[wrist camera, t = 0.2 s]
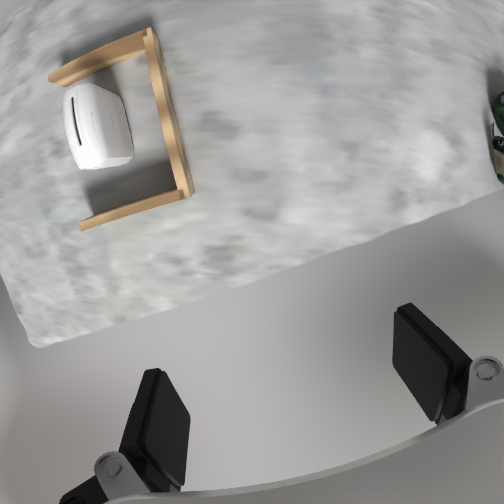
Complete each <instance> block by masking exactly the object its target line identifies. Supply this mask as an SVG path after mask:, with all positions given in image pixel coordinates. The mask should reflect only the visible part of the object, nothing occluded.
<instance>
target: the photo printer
mask: <svg viewBox="0 0 504 504" xmlns="http://www.w3.org/2000/svg"><path fill="white" fill-rule="evenodd" d="M63 112H64V124H65V130H66V133H67V138H68V142H69V145H70V149H71V151H72V154H73V157H74V159H75V161H76V163H77V165H78V167H79V168H80V169H81V170H84V169H91V170H92V169H100V168H107V167H114V166H121V165H125V164H127V163H128V162H129V161H130V160H131V159H132V158H133V157H134V149H133V144H132V139H131V135H130V130H129V126H128V122H127V118H126V114H125V110H124V106H123V103H122V101H121V99H120V97H119V96H118V95H116V94H114V93H112V92H109V91H107V90H105V89H103V88H101V87H99V86H97V85H94V84H92V83H84V84H79V85H76V86H75V87H73V88H71V89H68V90H67V91H66V93H65V96H64V103H63Z"/></svg>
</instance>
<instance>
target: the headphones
mask: <svg viewBox="0 0 504 504" xmlns="http://www.w3.org/2000/svg"><path fill="white" fill-rule="evenodd" d="M493 110H494V112H495V113H494V117H495V119H496V121H497V124H498V127H499V129H500V131H501V133H502V135H503V136H504V92H502V93H501V94H500V95H499V96H498V97H497V99H496V100H495V102H494V104H493ZM494 123H495V122H494ZM494 123H493V129H492V135H493V139H492V143H493V153H494V165H495V170H496V172H497V177H498V179H499V181H500V182H501V183H502V184H504V138H503V137H500V136H495V137H494Z"/></svg>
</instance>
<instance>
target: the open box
mask: <svg viewBox="0 0 504 504" xmlns="http://www.w3.org/2000/svg"><path fill="white" fill-rule="evenodd" d="M144 52H146V56H147V61H148V66H149V71H150V76H151V81H152V86H153V90H154V95H155V99H156V104H157V108H158V113H159V117H160V121H161V126H162V130H163V134H164V138H165V142H166V146H167V150H168V154H169V158H170V162H171V166H172V170H173V174H174V177H175V181H176V185H177V189H173V190H170V191H166V192H163V193H160V194H156V195H153V196H150V197H147V198H144V199H140V200H137V201H134V202H131V203H128V204H125V205H122V206H119V207H116V208H113V209H110V210H107V211H105V212H102V213H99V214H96V215H93V216H91V217H89V218H87V219H85V220H83V221H81V222H79V226H80V230H81V231H84V230H87V229H89V228H92V227H95V226H98V225H101V224H104V223H107V222H110V221H113V220H116V219H119V218H122V217H125V216H128V215H132V214H135V213H138V212H141V211H144V210H148V209H151V208H154V207H158V206H161V205H164V204H168V203H171V202H175V201H178V200H182V199H185V198H189V197H191V196H192V195H193V194H194V193H195V190H194V186H193V182H192V178H191V175H190V171H189V167H188V163H187V159H186V155H185V151H184V147H183V143H182V139H181V135H180V131H179V127H178V123H177V119H176V114H175V110H174V106H173V101H172V97H171V93H170V88H169V84H168V79H167V75H166V70H165V66H164V61H163V56H162V51H161V47H160V42H159V39H158V38H157V36H156V35H155V33H154V31H153V30H152V28H151V27H150V28H147V29H144V30H141V31H138V32H136V33H133V34H130V35H128V36H125V37H123V38H120V39H118V40H115V41H113V42H111V43H108V44H106V45H104V46H102V47H99V48H97V49H95V50H93V51H91V52H89V53H87V54H85V55H83V56H81V57H79V58H77V59H75V60H73V61H71V62H69V63H67V64H66V65H64V66H62V67H60V68H59V69H57V70H55V71H53V72H52V73H50V74H48V79H49V82H52V83H54V84H57V85H60V86H63V87H68V86H69V85H71V84H73V83H75V82H77V81H79V80H81V79H83V78H85V77H87V76H89V75H91V74H93V73H96V72H98V71H100V70H102V69H104V68H107V67H109V66H111V65H114V64H116V63H118V62H121V61H123V60H126V59H128V58H131V57H134V56H136V55H139V54H142V53H144Z"/></svg>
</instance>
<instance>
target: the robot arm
mask: <svg viewBox="0 0 504 504" xmlns="http://www.w3.org/2000/svg"><path fill="white" fill-rule="evenodd" d="M392 362H393V366H394V368H395V370H396V371H397V373H398V374H399V376H400V377H401V378H402V380H403V381H404V383H405V384H406V386H407V387H408V389H409V390H410V392H411V393H412V394H413V396H414V397H415V399H416V400H417V402H418V403H419V405H420V406H421V408H422V409H423V411H424V412H425V414H426V415H427V417H428V418H429V420H430V421H435V423H436V424H437V426H436V427H434V428H432V429H430V430H428V431H426V432H424V433H422V434H420V435H417V436H415V437H413V438H411V439H409V440H407V441H404V442H402V443H400V444H398V445H395V446H393V447H390V448H388V449H385V450H383V451H381V452H378V453H375V454H373V455H370V456H368V457H364V458H362V459H359V460H356V461H353V462H350V463H347V464H344V465H341V466H337V467H334V468H331V469H327V470H324V471H320V472H316V473H312V474H309V475H305V476H300V477H296V478H291V479H286V480H282V481H277V482H271V483H265V484H259V485H253V486H246V487H238V488H230V489H220V490H207V491H190V492H180V489H181V486H183V485H184V483H185V471H186V460H187V449H188V440H189V439H188V438H189V429H190V415H189V412H188V411H187V409H186V407H185V406H184V404H183V402H182V400H181V399H180V397H179V395H178V393H177V392H176V390H175V388H174V386H173V385H172V383H171V381H170V379H169V377H168V376H167V374H166V372H165V371H161V369H159V368H155V369H149V370H146V371H145V372H144V374H143V377H142V380H141V384H140V386H139V390H138V393H137V396H136V399H135V402H134V403H133V405H132V408H131V411H130V414H129V418H128V421H127V424H126V427H125V430H124V434H123V437H122V441H121V444H120V447H119V451H118V452H115V451H112V452H107V453H105V454H103V455H102V456H100V457H99V458H98V460H97V461H96V463H95V465H94V472H95V476H93V477H92V478H90V479H88V480H87V481H85V482H84V483H82V484H81V485H79V486H78V487H76V488H74V489H73V490H71V491H69V492H68V493H66V494H65V495H64V496H63V497H62V498H61V500H60V503H59V504H504V368H503V365H502V363H501V362H500V361H499V360H498V359H497V358H494V357H492V356H481V357H478V358H476V359H475V360H474V361H473V360H471V358H469V357H468V355H467V354H466V353H465V352H464V351H463V350H462V349H461V348H459V346H458V345H457V344H456V343H454V342H453V341H452V340H451V339H450V338H449V337H448V336H447V335H446V334H445V333H444V332H443V331H442V330H441V329H440V328H439V327H437V326H436V325H435V324H434V323H433V322H432V321H431V320H429V318H428V317H426V316H425V315H424V314H423V313H422V312H421V311H420V310H419V309H418V308H417V307H416V306H414V305H413V304H412V303H407V304H405V305H402V306H400V307H398V308H397V311H396V312H395V313H394V337H393V358H392Z"/></svg>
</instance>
